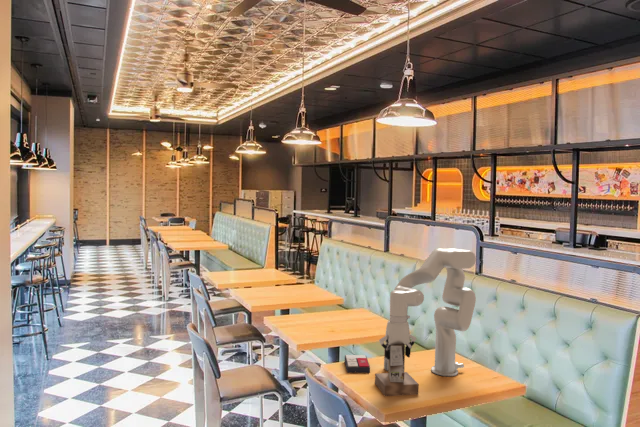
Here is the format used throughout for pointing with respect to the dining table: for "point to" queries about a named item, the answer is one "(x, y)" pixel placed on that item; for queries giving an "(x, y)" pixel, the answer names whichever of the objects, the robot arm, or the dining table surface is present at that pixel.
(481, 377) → the dining table surface
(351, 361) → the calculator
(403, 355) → the coffee box
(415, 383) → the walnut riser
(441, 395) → the dining table surface
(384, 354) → the beverage can
